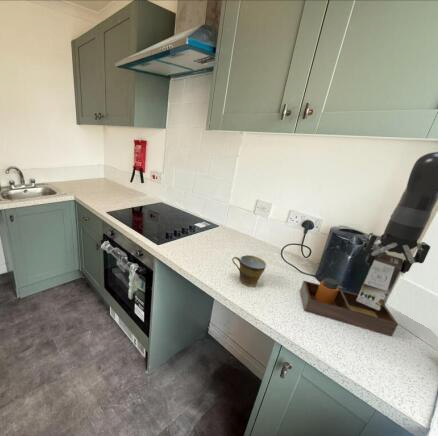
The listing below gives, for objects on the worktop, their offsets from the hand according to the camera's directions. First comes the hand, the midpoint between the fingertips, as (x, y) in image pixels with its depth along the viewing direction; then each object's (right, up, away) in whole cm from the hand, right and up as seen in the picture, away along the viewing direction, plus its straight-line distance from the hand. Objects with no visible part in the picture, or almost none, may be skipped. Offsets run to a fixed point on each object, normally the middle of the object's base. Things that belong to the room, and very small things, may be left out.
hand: (384, 268), depth 78 cm
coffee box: (0, -12, +5) cm, 13 cm away
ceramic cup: (-35, -11, +25) cm, 45 cm away
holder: (-6, -18, +10) cm, 22 cm away
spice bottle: (-12, -16, +12) cm, 23 cm away
